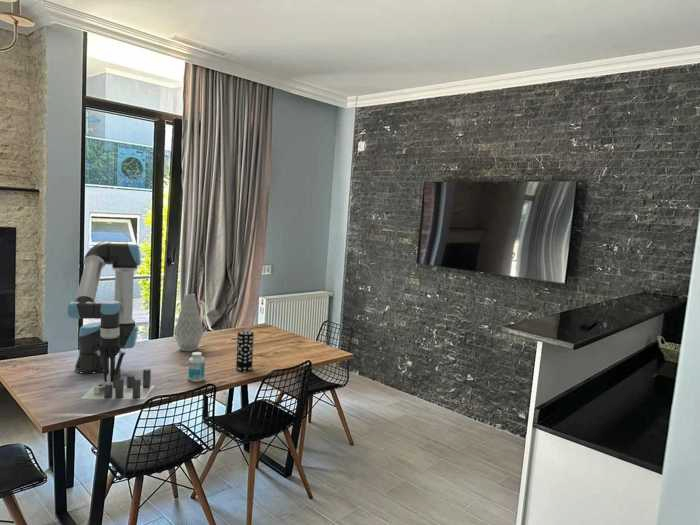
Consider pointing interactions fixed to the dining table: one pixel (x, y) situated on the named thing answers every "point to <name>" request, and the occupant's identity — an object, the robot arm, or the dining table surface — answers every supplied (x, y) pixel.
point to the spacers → (131, 383)
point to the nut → (99, 388)
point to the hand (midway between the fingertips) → (109, 388)
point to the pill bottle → (196, 367)
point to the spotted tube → (244, 351)
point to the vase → (188, 325)
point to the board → (126, 394)
